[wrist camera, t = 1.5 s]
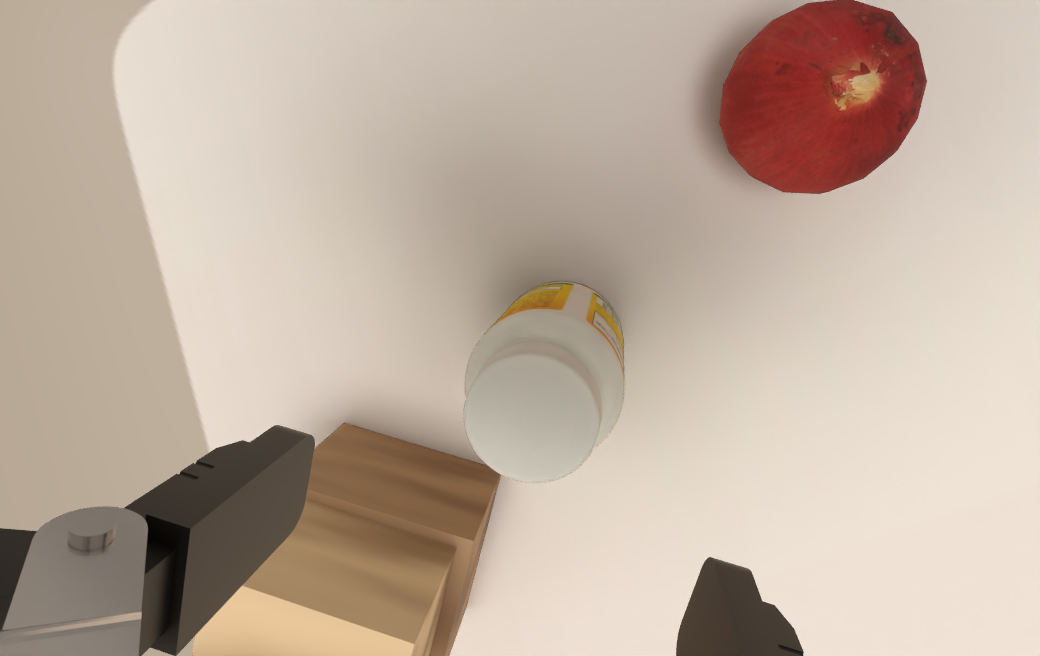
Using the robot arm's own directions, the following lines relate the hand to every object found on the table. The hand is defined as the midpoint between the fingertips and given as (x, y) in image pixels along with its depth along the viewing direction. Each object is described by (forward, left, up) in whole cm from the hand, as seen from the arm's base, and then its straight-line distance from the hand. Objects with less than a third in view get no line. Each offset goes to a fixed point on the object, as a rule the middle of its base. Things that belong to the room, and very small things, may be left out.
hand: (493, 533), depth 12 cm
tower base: (+11, -5, -15) cm, 19 cm away
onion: (-11, +6, -15) cm, 20 cm away
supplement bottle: (0, 0, -15) cm, 15 cm away
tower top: (+11, -5, -9) cm, 15 cm away
